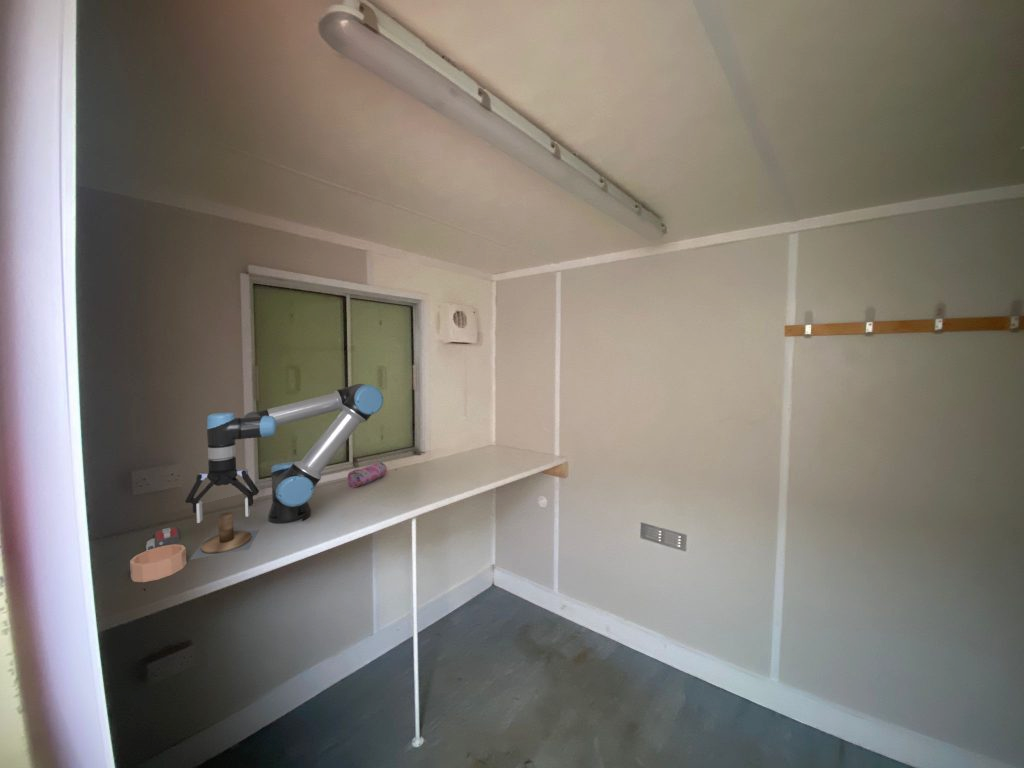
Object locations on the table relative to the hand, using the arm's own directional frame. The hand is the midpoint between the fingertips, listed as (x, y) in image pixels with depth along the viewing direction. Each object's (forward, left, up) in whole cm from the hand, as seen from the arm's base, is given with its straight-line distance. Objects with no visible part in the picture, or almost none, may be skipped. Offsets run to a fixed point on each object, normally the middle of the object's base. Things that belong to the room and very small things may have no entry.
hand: (224, 518), depth 130 cm
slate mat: (0, 0, -10) cm, 10 cm away
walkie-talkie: (+20, -10, -11) cm, 25 cm away
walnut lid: (0, 0, -9) cm, 9 cm away
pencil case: (-49, -53, -11) cm, 73 cm away
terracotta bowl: (+14, +12, -10) cm, 21 cm away
